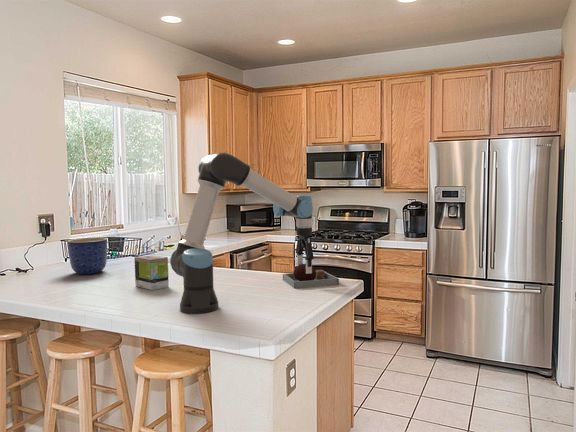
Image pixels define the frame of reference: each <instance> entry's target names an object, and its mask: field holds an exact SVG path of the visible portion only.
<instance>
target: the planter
mask: <svg viewBox="0 0 576 432" xmlns="http://www.w3.org/2000/svg"><path fill="white" fill-rule="evenodd" d="M66 242H67V249H68V256H69V264H70V267H71V269H72V270H73V272H75V273H76V274H77V275H83V276H85V275H95V274H98V273H101V272H102V271H103V270H104V269H105V268H106V266H107V262H108V261H107V259H108V258H107V257H108V256H107V255H108V238H106V237H100V236H99V237H95V236H94V237H93V236H92V237H81V238H80V237H79V238H72V239H68V240H67V241H66Z"/></svg>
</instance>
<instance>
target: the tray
mask: <svg viewBox="0 0 576 432" xmlns="http://www.w3.org/2000/svg"><path fill="white" fill-rule="evenodd" d="M323 271H324V279H319V280H317V279H314V280H310V281H299V280H297V279H296V278H295V276H294V274H293V272H292V273H282V280H283V282H285V283H286V284H287V285H289V286H290V287H291V288H293V289H306V288H317V287H327V286H338V285H340V281H339V280H340V279H339V278H338V277H337V276H334V275H333V274H330V273H328V272H327V271H325V270H323Z"/></svg>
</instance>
